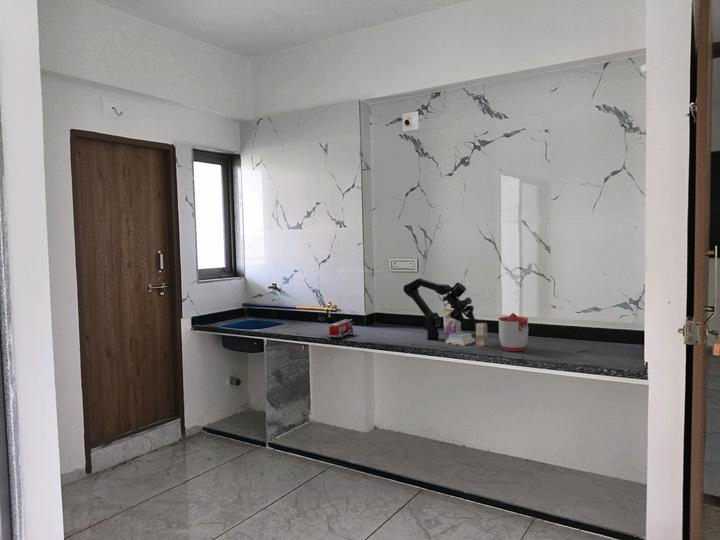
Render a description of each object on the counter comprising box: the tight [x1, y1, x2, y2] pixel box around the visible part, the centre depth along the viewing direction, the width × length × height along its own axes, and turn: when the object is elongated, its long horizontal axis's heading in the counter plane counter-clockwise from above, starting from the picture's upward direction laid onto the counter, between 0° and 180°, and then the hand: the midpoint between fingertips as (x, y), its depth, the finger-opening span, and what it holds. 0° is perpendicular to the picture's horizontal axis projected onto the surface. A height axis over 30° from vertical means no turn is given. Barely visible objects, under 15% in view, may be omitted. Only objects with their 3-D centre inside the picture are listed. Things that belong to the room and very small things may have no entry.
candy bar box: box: [442, 307, 462, 335], centre depth 348 cm, size 11×5×16 cm, turn 35°
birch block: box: [475, 322, 488, 347], centre depth 311 cm, size 4×4×12 cm
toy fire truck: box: [327, 318, 355, 339], centre depth 352 cm, size 9×19×10 cm, turn 146°
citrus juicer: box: [498, 312, 529, 353], centre depth 297 cm, size 16×17×20 cm
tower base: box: [445, 331, 476, 346], centre depth 321 cm, size 12×12×5 cm
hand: (471, 322), depth 316 cm, fingers open, 9 cm apart
